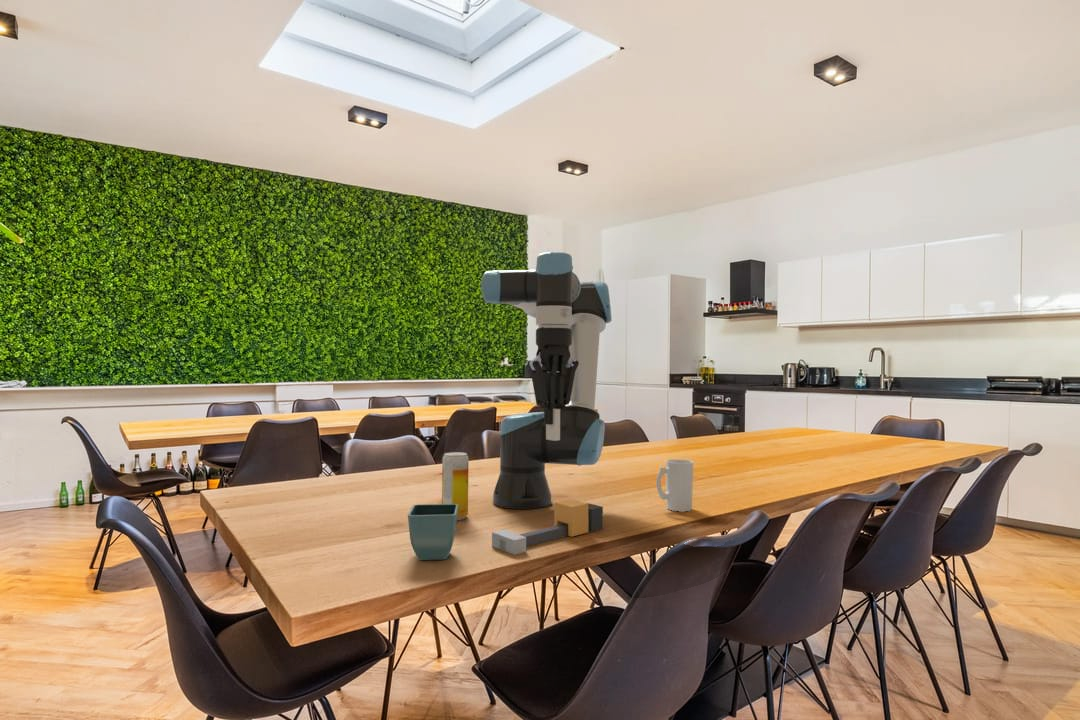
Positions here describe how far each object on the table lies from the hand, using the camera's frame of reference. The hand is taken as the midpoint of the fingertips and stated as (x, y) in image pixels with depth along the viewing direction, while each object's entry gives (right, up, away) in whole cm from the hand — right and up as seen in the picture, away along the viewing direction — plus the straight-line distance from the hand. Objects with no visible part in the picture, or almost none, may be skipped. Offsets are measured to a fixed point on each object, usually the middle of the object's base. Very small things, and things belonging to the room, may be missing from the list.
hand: (552, 439), depth 129 cm
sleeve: (+4, -21, +4) cm, 21 cm away
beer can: (-23, -21, +15) cm, 34 cm away
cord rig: (0, -21, 0) cm, 21 cm away
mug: (+31, -21, +25) cm, 45 cm away
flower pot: (-23, -21, -13) cm, 33 cm away
